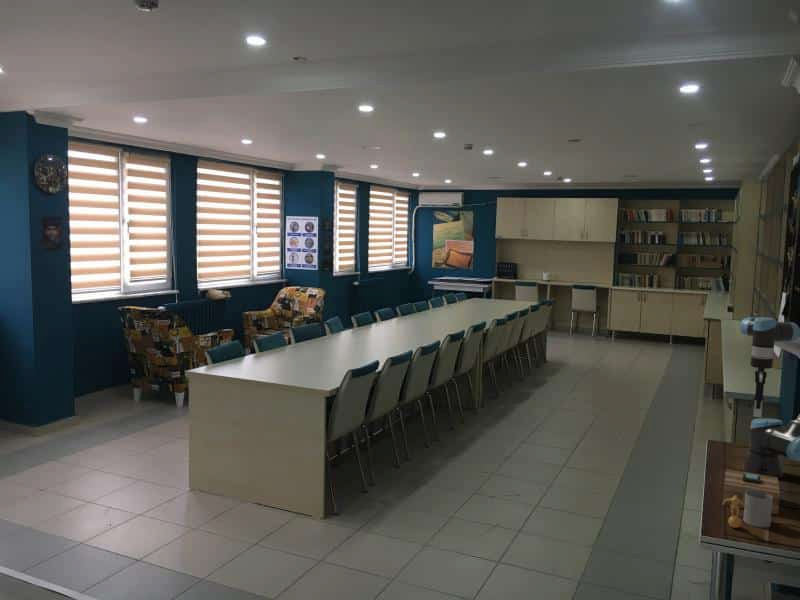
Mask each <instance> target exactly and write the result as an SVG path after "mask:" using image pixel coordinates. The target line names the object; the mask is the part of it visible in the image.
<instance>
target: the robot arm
mask: <svg viewBox="0 0 800 600" xmlns="http://www.w3.org/2000/svg"><path fill="white" fill-rule="evenodd" d="M739 329H740V332H741V333H742V334H743V335H745V336H748V337H752V344H751V345H752V346H751V347H750V348H749V350H750V351H751V357H750V366H751V367H752V368H756V369H757V370H755V371H754V376H755V380H754V382H755V394H754V398H752V400H753V401H754V404H753V405H754V406H753V417H757V418H754V419H753V420H751V423H750V427H749V444H748V453H747V455H746V457H745V460H744V462H743V464H742V471H743V472H747V473H753V474H759V475H765V476H771V477H777V478H778V479H780V478H782V477H783V476H784V468H783V466H782V461H781V456H783V457H785V458H787V459H790V460H792V461H797V462H800V413H799V414H798V416H797V418H796V419H794V420H793V419H792V420H790V421H788V423H787V425H786V426H784V424H783V421H782V420H781V419H775V418H768V417H767V418H766V417H765V418H764V417H763V418H762V416H763V415H762V413H763V401H764V400H765V397H764V389H765V388H764V387H765V384H766V379H767V371H765V369H767V370H768V369H772V368H773V363H774V359H773V358H774V352H775V351H774V350H775V347H777V348H778V349H782V350H784V351H786V352H788V353H791V354H793V355H795V356H797V358H799V359H800V327H799V326H798V324H797V323H795V322H792V321H791V322H790V321H786V322H785V321H777V320H776V319H775V318H772V317H763V316H762V317H761V316H760V317H750V316H748V317H745V318H744V319H742V320H741V323H740V324H739Z"/></svg>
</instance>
